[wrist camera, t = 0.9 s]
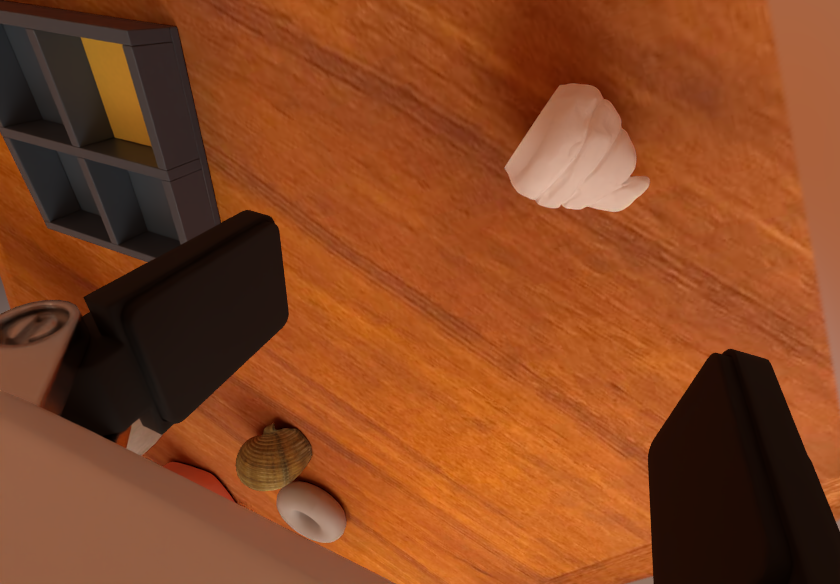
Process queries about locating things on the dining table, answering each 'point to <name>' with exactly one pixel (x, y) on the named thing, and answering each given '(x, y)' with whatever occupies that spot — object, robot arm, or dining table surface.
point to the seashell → (273, 458)
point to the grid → (104, 128)
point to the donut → (311, 511)
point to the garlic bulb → (577, 154)
